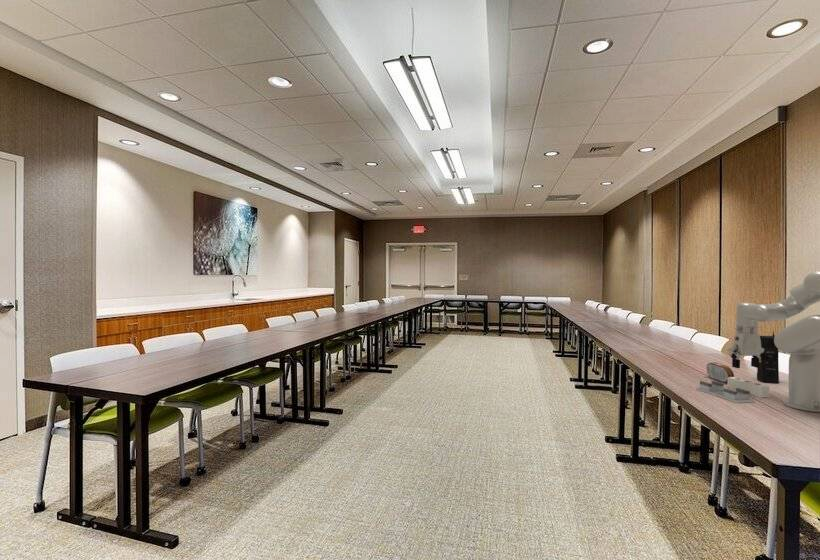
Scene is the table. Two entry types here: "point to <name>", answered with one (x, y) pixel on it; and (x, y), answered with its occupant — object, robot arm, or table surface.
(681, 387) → the table surface
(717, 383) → the cradle rack
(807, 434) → the table surface
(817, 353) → the robot arm
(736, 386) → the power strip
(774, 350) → the portable radio
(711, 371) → the tin
